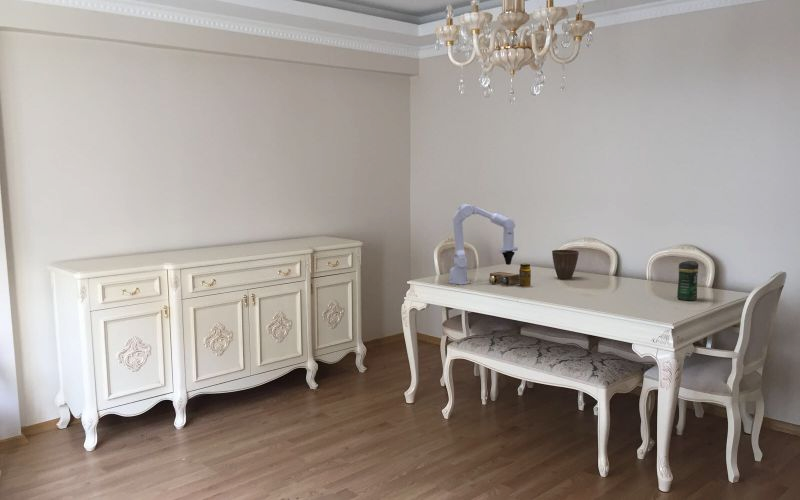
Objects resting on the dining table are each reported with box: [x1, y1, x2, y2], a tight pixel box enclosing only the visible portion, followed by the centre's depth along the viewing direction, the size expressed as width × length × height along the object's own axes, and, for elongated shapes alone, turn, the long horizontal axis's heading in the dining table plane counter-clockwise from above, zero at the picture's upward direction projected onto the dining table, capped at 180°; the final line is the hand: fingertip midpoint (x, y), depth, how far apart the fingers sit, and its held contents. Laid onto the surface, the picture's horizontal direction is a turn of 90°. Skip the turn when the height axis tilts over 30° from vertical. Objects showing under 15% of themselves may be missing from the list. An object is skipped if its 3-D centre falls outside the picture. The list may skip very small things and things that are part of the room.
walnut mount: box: [489, 271, 519, 287], centre depth 368 cm, size 14×8×6 cm, turn 44°
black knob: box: [501, 278, 508, 284], centre depth 364 cm, size 3×9×3 cm, turn 134°
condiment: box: [512, 263, 533, 289], centre depth 360 cm, size 7×8×12 cm
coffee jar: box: [676, 260, 699, 302], centre depth 318 cm, size 10×8×19 cm
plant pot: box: [551, 249, 580, 281], centre depth 383 cm, size 15×15×16 cm
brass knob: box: [488, 275, 496, 284], centre depth 370 cm, size 3×9×3 cm, turn 134°
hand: (508, 264), depth 373 cm, fingers closed
